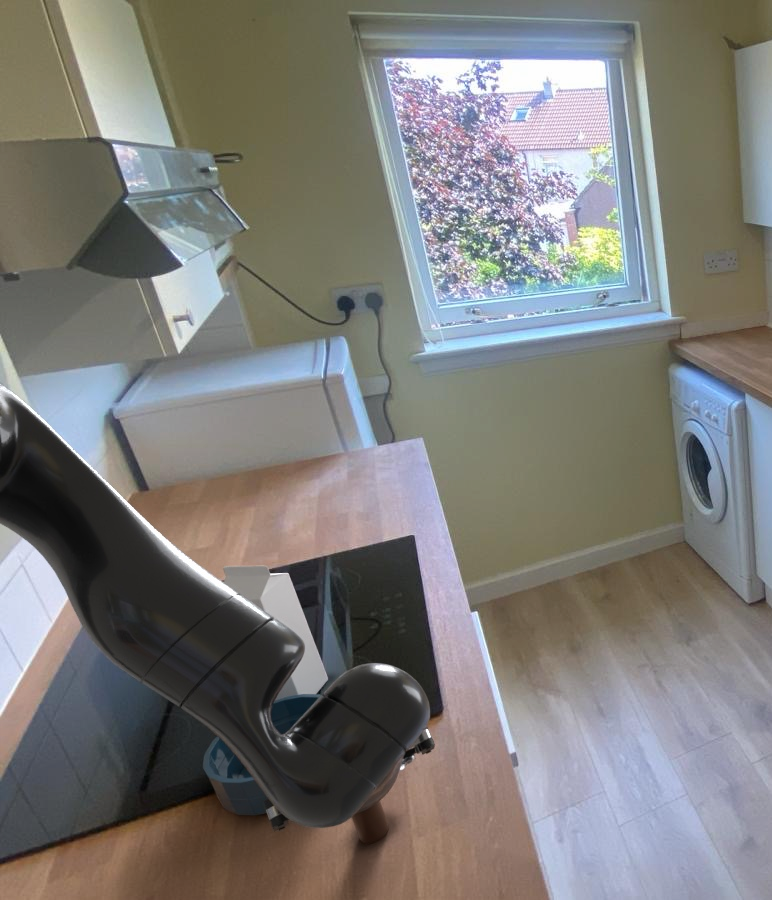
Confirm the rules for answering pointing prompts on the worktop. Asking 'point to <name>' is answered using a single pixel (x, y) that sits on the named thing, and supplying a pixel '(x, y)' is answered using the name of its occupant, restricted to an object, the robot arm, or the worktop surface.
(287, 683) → the milk
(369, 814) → the brown tall cylinder
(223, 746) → the bowl
